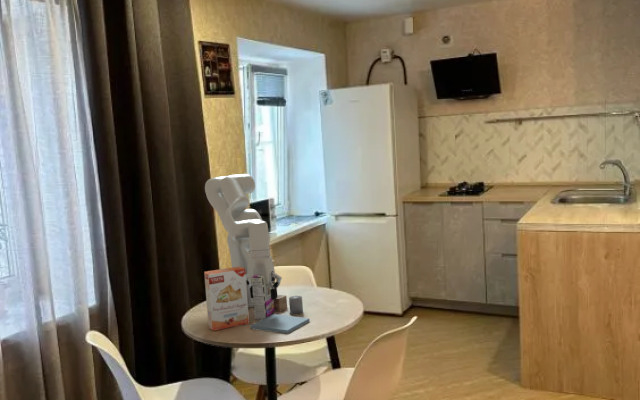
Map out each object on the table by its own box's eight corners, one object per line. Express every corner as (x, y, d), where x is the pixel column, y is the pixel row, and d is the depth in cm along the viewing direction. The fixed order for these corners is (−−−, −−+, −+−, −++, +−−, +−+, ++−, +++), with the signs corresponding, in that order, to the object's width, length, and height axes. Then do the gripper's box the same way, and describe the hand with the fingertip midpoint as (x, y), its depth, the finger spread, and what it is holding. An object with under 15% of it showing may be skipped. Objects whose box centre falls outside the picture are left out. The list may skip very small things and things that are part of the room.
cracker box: (213, 331, 203) (208, 274, 201) (208, 327, 208) (203, 271, 206) (250, 323, 209) (245, 267, 207) (244, 319, 214) (240, 265, 212)
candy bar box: (262, 311, 225) (259, 270, 223) (275, 310, 224) (272, 269, 222) (254, 319, 214) (250, 276, 212) (266, 319, 213) (263, 276, 211)
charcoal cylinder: (287, 313, 218) (286, 298, 218) (294, 310, 223) (293, 295, 222) (298, 315, 216) (297, 299, 215) (305, 311, 220) (304, 296, 220)
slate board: (250, 328, 203) (250, 325, 203) (273, 317, 215) (273, 314, 215) (287, 333, 195) (287, 330, 195) (309, 321, 207) (309, 318, 207)
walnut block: (269, 310, 225) (268, 297, 225) (277, 306, 230) (276, 294, 229) (280, 311, 223) (279, 298, 222) (287, 307, 227) (286, 295, 227)
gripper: (236, 255, 218) (240, 299, 219) (272, 256, 208) (276, 302, 210) (248, 251, 224) (252, 294, 225) (284, 252, 215) (288, 296, 216)
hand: (264, 298), depth 217 cm, fingers open, 9 cm apart
